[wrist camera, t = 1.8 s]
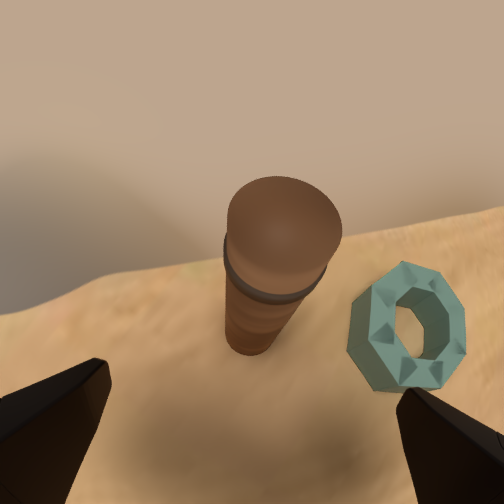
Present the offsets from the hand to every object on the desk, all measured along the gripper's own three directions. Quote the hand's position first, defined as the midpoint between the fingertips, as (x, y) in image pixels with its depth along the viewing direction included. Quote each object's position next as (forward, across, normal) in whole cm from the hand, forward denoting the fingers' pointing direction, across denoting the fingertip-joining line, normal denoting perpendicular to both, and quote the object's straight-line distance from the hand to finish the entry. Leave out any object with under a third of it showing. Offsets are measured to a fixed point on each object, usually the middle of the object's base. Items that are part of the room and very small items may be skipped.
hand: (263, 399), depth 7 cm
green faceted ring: (+12, -12, +4) cm, 18 cm away
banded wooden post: (+12, 0, +5) cm, 12 cm away
